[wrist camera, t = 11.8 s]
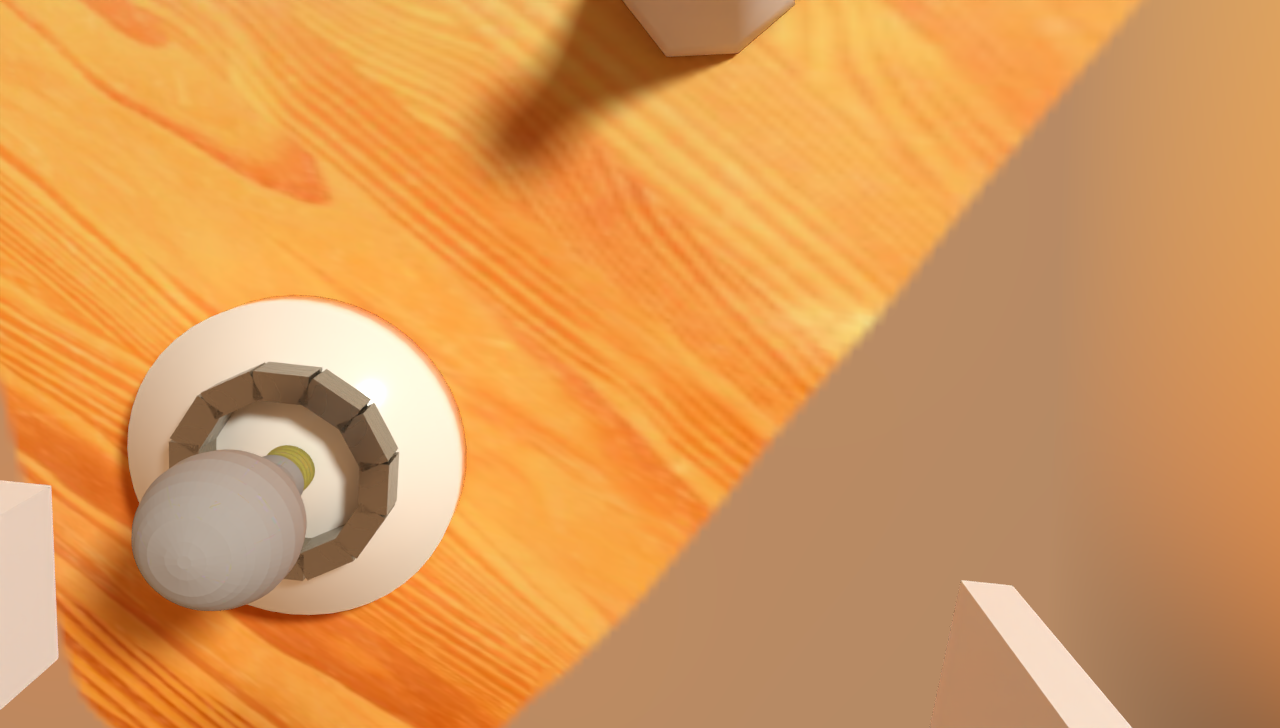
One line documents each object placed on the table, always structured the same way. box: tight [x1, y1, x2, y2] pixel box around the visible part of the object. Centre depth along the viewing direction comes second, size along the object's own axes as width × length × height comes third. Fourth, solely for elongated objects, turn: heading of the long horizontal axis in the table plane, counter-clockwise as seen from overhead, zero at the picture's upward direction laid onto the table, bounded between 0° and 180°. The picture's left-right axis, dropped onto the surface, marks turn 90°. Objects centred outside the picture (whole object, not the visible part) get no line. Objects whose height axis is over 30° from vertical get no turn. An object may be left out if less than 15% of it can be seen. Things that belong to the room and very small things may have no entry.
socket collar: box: [169, 362, 399, 581], centre depth 38 cm, size 9×9×2 cm
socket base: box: [127, 295, 467, 615], centre depth 40 cm, size 14×14×2 cm
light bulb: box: [132, 445, 315, 611], centre depth 34 cm, size 5×5×10 cm
